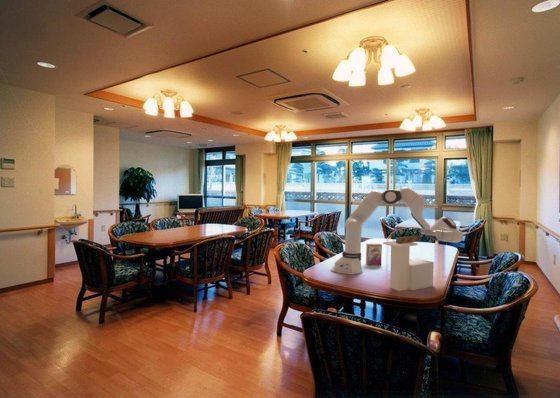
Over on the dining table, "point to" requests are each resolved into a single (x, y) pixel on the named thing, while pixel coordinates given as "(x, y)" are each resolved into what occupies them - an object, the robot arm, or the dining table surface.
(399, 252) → the stepped stand
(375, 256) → the candy bar box
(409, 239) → the walnut bar
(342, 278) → the dining table surface
